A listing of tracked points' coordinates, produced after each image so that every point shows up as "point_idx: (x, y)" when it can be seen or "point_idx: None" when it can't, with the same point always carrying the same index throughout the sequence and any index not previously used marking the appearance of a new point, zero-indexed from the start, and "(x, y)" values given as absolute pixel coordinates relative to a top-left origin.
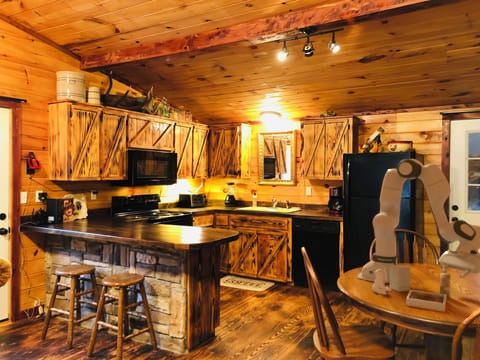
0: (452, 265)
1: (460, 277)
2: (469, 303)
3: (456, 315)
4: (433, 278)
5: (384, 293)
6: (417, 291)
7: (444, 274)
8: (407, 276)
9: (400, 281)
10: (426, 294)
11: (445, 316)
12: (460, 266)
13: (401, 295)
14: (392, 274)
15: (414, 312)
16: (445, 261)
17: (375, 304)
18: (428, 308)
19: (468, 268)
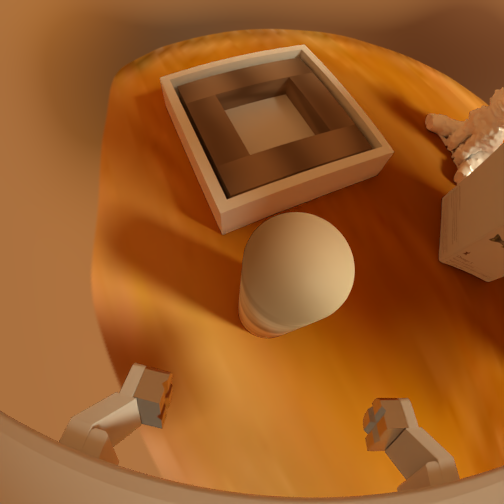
0: (339, 498)
1: (170, 384)
2: (134, 343)
3: (124, 121)
4: None
5: (429, 115)
6: (360, 155)
7: (302, 251)
8: (493, 208)
9: (474, 178)
10: (309, 158)
11: (153, 86)
12: (182, 487)
13: (413, 176)
14: None
15: (246, 51)
16: (465, 501)
17: (362, 45)
18: None
19: (45, 436)
